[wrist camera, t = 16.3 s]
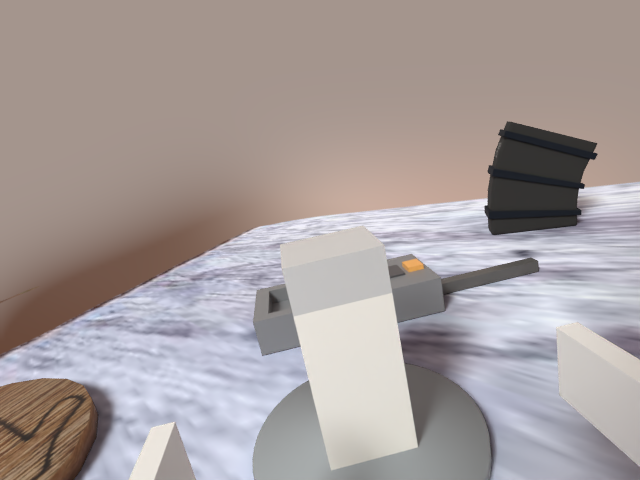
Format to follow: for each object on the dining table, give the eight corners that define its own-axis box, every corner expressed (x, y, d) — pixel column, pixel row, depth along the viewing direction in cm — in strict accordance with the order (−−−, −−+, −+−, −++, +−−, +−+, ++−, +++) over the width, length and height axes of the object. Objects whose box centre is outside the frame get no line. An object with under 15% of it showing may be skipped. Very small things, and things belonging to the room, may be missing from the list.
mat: (492, 380, 27) (490, 368, 27) (490, 611, 15) (488, 593, 15) (312, 366, 33) (310, 356, 33) (207, 523, 21) (202, 509, 21)
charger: (393, 396, 26) (363, 225, 23) (417, 447, 22) (384, 245, 18) (321, 415, 26) (280, 244, 23) (331, 470, 21) (281, 268, 18)
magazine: (464, 221, 59) (503, 120, 53) (553, 247, 57) (604, 145, 51) (466, 228, 55) (509, 121, 50) (562, 256, 53) (617, 148, 48)
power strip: (513, 258, 46) (510, 226, 45) (561, 282, 38) (559, 244, 37) (264, 318, 44) (255, 286, 43) (262, 355, 36) (251, 317, 35)
